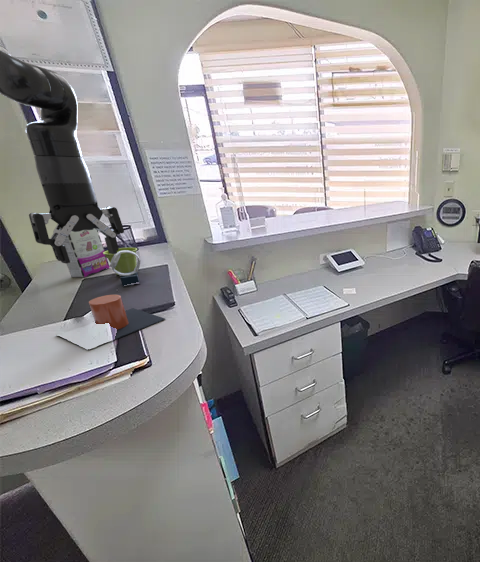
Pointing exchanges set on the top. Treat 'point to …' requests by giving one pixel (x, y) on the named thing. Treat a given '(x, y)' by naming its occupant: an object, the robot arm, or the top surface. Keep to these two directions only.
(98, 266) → the candy bar box
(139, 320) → the desk mat
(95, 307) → the orange cylinder
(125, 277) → the watch
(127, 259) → the plant pot
